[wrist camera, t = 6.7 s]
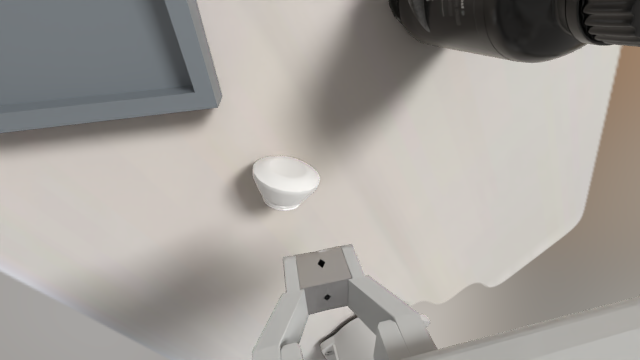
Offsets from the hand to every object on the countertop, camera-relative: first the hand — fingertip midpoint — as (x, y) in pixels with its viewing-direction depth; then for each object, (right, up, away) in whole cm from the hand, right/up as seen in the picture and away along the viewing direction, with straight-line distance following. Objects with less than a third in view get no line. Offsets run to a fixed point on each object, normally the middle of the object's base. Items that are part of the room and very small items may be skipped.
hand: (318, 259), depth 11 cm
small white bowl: (-3, +5, +11) cm, 12 cm away
